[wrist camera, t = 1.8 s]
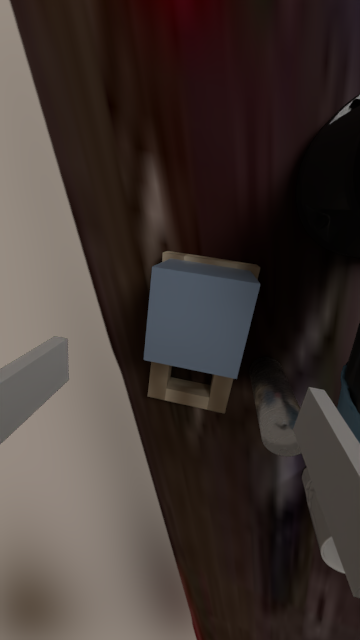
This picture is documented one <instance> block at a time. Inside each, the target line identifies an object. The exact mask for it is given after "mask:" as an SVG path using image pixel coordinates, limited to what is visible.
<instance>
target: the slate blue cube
mask: <svg viewBox="0 0 360 640" xmlns="http://www.w3.org/2000/svg"><path fill="white" fill-rule="evenodd" d="M259 288H260V283H259V281H258V280H257V279H256V278H255V276H254V275H253V274H252V272H251V271H249V270H242V269H236V268H230V267H223V266H217V265H211V264H204V263H198V262H191V261H185V260H179V259H172V258H170V259H168V260H166V261H164V262H161V263H159V264H157V265H155V266H152V274H151V285H150V296H149V306H148V317H147V328H146V338H145V349H144V360H146V361H151V362H156V363H161V364H165V365H170V366H175V367H180V368H185V369H190V370H195V371H200V372H204V373H209V374H214V375H219V376H224V377H229V378H234V379H237V376H238V372H239V368H240V364H241V360H242V356H243V352H244V348H245V344H246V340H247V336H248V332H249V328H250V324H251V320H252V316H253V312H254V308H255V304H256V300H257V296H258V292H259Z"/></svg>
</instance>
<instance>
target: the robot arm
mask: <svg viewBox="0 0 360 640" xmlns="http://www.w3.org/2000/svg"><path fill="white" fill-rule="evenodd" d="M296 204H297V210H298V214H299V217H300V220H301V222H302V224H303V226H304V228H305V229H306V231H307V232H308V234H309V235H310V236H311V237H312V238H313V239H314V240H315V241H316V242H317V243H318V244H319V245H321V246H322V247H324V248H326V249H327V250H330V251H332V252H334V253H337V254H341V255H345V256H351V257H359V258H360V94H359V95H357V96H356V97H354V98H353V99H352V100H350V101H349V102H348V103H347V104H345V105H344V106H343V107H342V108H341V109H340V110H339V111H338V112H337V113H336V114H335V115H334V116H333V117H332V118H331V119H330V120H329V121H328V122H327V123H326V124H325V125H324V127H323V128H322V129H321V130H320V131H319V133H318V134H317V135H316V137H315V138H314V140H313V141H312V143H311V144H310V146H309V148H308V150H307V152H306V154H305V156H304V158H303V161H302V163H301V166H300V169H299V173H298V177H297V183H296ZM68 379H69V373H68V339H67V338H62V337H57V336H54V337H53V338H51V339H49V340H48V341H46V342H44V343H43V344H41V345H39V346H38V347H36V348H34V349H33V350H31V351H29V352H28V353H26V354H24V355H23V356H21V357H19V358H18V359H16V360H14V361H13V362H11V363H9V364H8V365H6V366H5V367H3V368H1V369H0V444H1V443H2V442H3V441H4V440H5V439H7V438H8V437H9V436H10V435H11V434H12V433H13V432H14V431H15V430H16V429H17V428H18V427H19V426H20V425H21V424H22V423H23V422H25V421H26V420H27V419H28V418H29V417H30V416H31V415H32V414H33V413H34V412H35V411H36V410H37V409H38V408H39V407H41V406H42V405H43V404H44V403H45V402H46V401H47V400H48V399H49V398H50V397H51V396H52V395H53V394H54V393H55V392H56V391H58V389H60V388H61V387H62V386H63V385H64V384H65V383H66V382H67V381H68ZM341 384H342V387H341V392H340V397H339V401H338V406H337V408H336V407H335V405H334V404H333V402H332V401H331V399H330V398H329V396H328V395H327V393H326V392H325V390H322V389H317V388H312V387H308V390H307V393H306V395H305V398H304V401H303V403H302V406H301V409H300V411H299V414H298V417H297V419H296V422H295V425H294V428H293V431H294V434H295V436H296V439H297V442H298V445H299V448H300V450H301V453H302V456H303V459H304V461H305V464H306V467H307V470H308V472H309V475H310V478H311V481H312V483H313V486H314V489H315V492H316V494H317V497H318V500H319V503H320V505H321V508H322V511H323V514H324V516H325V519H326V522H327V525H328V527H329V530H330V533H331V536H332V538H333V541H334V544H335V547H336V549H337V552H338V555H339V558H340V561H341V563H342V566H343V569H344V572H345V574H346V577H347V580H348V583H349V585H350V588H351V591H352V594H353V596H354V597H358V598H360V323H359V327H358V330H357V333H356V337H355V340H354V344H353V347H352V350H351V354H350V357H349V361H348V362H347V364H346V365H344V366H343V369H342V372H341Z"/></svg>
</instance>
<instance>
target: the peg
mask: <svg viewBox="0 0 360 640" xmlns="http://www.w3.org/2000/svg"><path fill="white" fill-rule="evenodd" d="M249 375H250V380H251V385H252V390H253V396H254V401H255V406H256V411H257V416H258V422H259V427H260V432H261V437H262V442H263V444H264V446H265V447H266V448H267V449H268V450H269V451H270V452H272V453H274V454H276V455H280V456H295V455H299V454H301V450H300V448H299V445H298V442H297V439H296V436H295V434H294V431H293V428H294V425H295V422H296V419H297V417H298V414H299V411H300V407H299V405H298V402H297V400H296V398H295V396H294V393H293V391H292V389H291V387H290V385H289V382H288V380H287V378H286V376H285V373H284V371H283V369H282V367H281V365H280V363H279V362H278V361H277V360H275V359H273V358H270V357H262V358H259V359H257V360H255V361H254V362H253V363H252V364H251V366H250V368H249Z"/></svg>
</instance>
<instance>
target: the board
mask: <svg viewBox="0 0 360 640" xmlns="http://www.w3.org/2000/svg"><path fill="white" fill-rule="evenodd" d="M170 258H172V259H179V260H185V261H191V262H198V263H204V264H211V265H217V266H223V267H230V268H236V269H242V270H249V271H251V272H252V274H253V275H254V276H255V278H256V279H257V280H258V276H259V272H260V267H259V266H258V265H257V264H250V263H244V262H237V261H231V260H224V259H217V258H211V257H204V256H198V255H191V254H185V253H178V252H172V251H166V252H163V257H162V262H164V261H166V260H168V259H170ZM171 370H172V366H170V365H165V364H161V363H156V362H151V369H150V379H149V388H148V397H152V398H157V399H161V400H166V401H170V402H175V403H179V404H184V405H188V406H193V407H197V408H202V409H206V410H211V411H215V412H220V413H224V414H225V411H226V406H227V402H228V398H229V394H230V390H231V386H232V382H233V378H229V377H224V376H219V375H214V374H213V375H212V380H211V384H210V385H207V384H202V383H198V382H193V381H188V380H183V379H179V378H174V377H171Z"/></svg>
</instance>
